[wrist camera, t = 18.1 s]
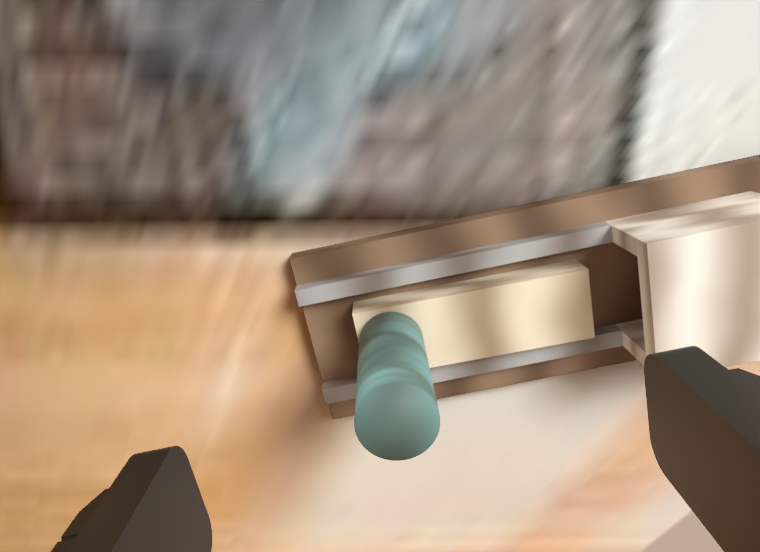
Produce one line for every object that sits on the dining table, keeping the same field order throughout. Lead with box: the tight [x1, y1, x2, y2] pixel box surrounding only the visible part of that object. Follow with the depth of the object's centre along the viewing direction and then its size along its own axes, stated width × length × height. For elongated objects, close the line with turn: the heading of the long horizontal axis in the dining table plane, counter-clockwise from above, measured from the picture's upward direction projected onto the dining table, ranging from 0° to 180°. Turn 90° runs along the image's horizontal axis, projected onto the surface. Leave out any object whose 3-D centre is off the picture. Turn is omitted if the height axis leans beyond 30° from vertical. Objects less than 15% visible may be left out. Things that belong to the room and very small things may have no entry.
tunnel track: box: [290, 155, 760, 419], centre depth 39 cm, size 42×13×8 cm, turn 102°
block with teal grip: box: [352, 259, 595, 460], centre depth 36 cm, size 16×5×13 cm, turn 101°
